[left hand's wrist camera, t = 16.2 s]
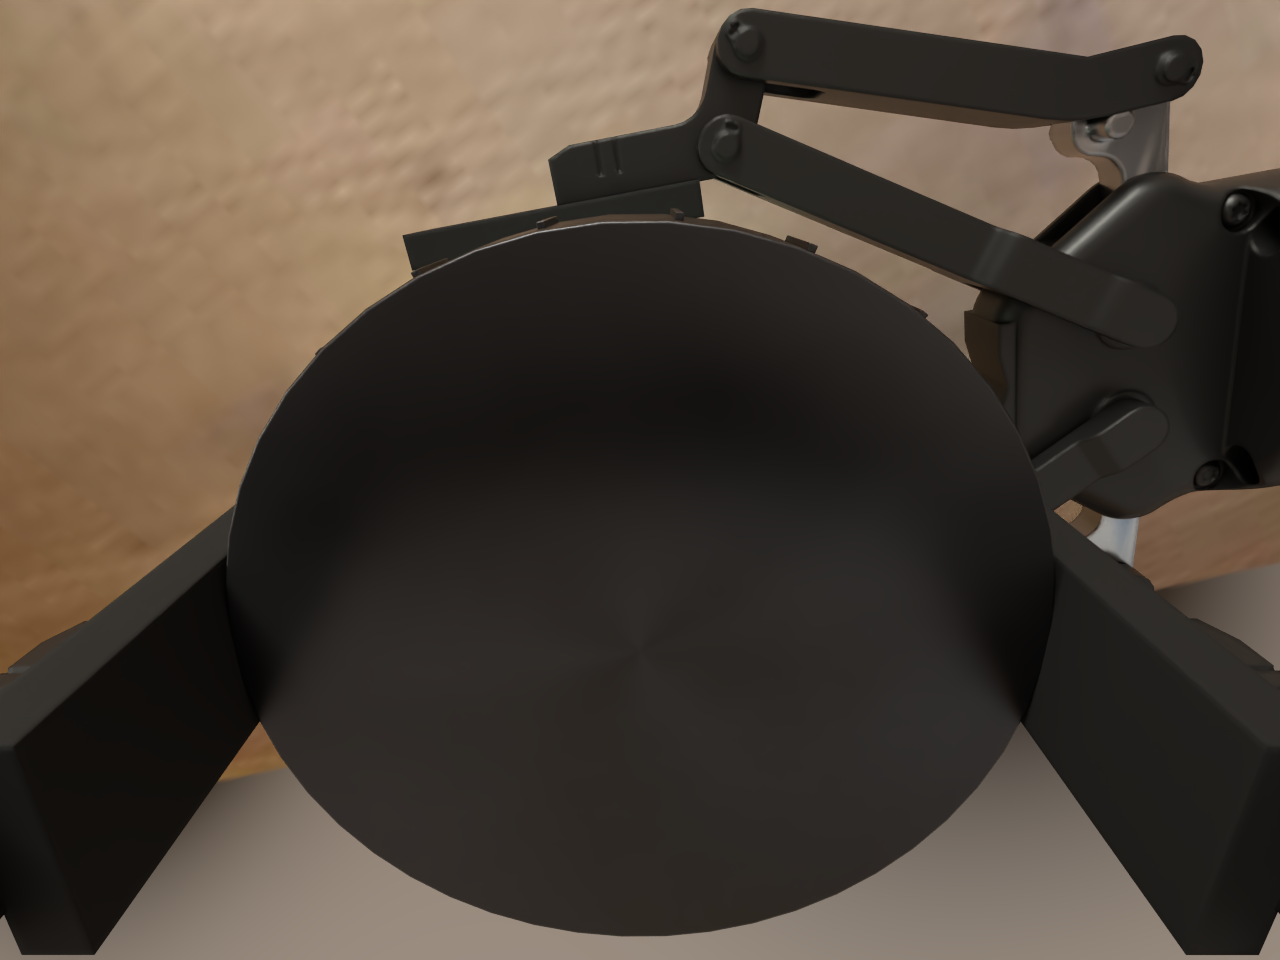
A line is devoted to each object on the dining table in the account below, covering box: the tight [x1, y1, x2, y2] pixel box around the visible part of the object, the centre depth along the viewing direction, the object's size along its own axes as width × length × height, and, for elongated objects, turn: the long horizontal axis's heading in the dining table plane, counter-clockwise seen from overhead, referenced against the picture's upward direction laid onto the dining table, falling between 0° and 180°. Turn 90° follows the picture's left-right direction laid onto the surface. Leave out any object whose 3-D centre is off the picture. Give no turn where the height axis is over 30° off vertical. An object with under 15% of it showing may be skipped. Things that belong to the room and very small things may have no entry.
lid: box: [226, 208, 1056, 936], centre depth 11 cm, size 11×12×2 cm
